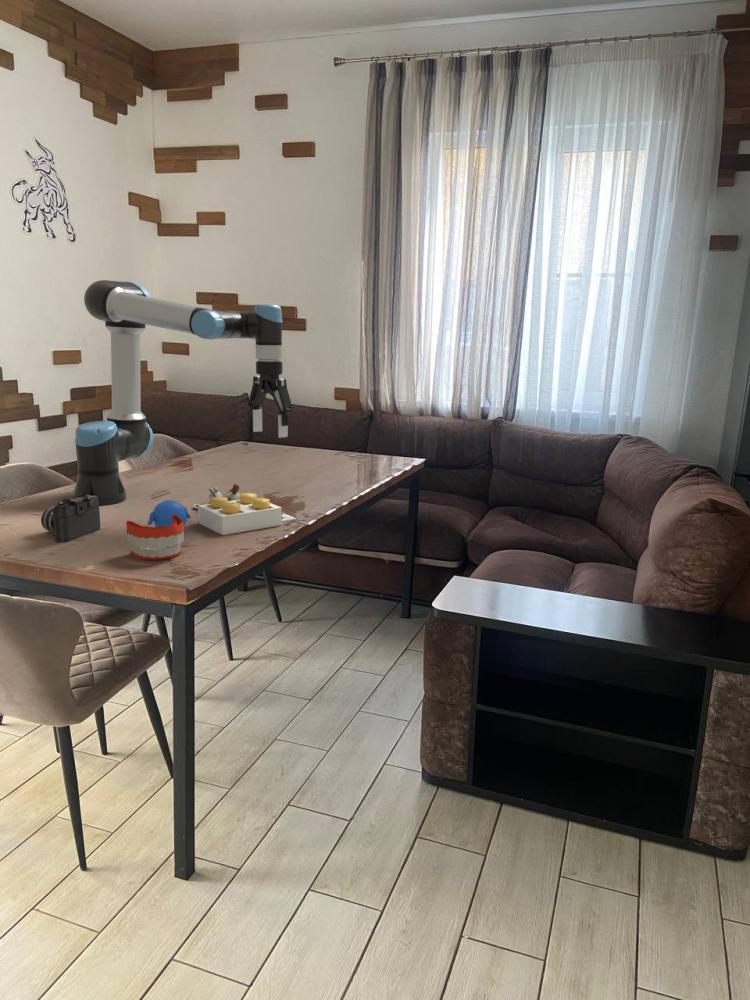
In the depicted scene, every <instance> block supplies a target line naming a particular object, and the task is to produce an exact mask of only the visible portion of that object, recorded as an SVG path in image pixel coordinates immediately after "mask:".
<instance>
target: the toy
mask: <svg viewBox="0 0 750 1000" xmlns="http://www.w3.org/2000/svg"><path fill="white" fill-rule="evenodd" d="M172 522H173V525H169V526H164V527H156V526H144V525H140V524H139V523H136V522H134V521H133V520H132V521H131V520H127V521H126V523H125V524H126V533H127V535H126V536H127V537H126V542H128V543H129V547H130V551H129V554H130V555H132V556H133V557H135V558H137V559H140V560H144V561H162V560H168V559H173V558H175V557H177V556H178V555H181V552H182V548H181V547H182V545H181V544H182V543H183V542H184V539H185V537H184V532H185V528H184V527H185V525H184V526H183V521H182V520H181V519H180V518H179V517H178V516H176V515H172Z"/></svg>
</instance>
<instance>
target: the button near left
mask: <svg viewBox="0 0 750 1000" xmlns="http://www.w3.org/2000/svg"><path fill="white" fill-rule="evenodd" d="M222 513H224V514H226V515H231V514H238V513H241V504H240V503H237V502H226V503H223V504H222Z"/></svg>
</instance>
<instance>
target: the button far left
mask: <svg viewBox="0 0 750 1000" xmlns="http://www.w3.org/2000/svg"><path fill="white" fill-rule="evenodd" d="M226 502H228V498H226V497H213V498H210V500H209V503H210V508H213V509H221V508H222V504H223V503H226Z"/></svg>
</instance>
